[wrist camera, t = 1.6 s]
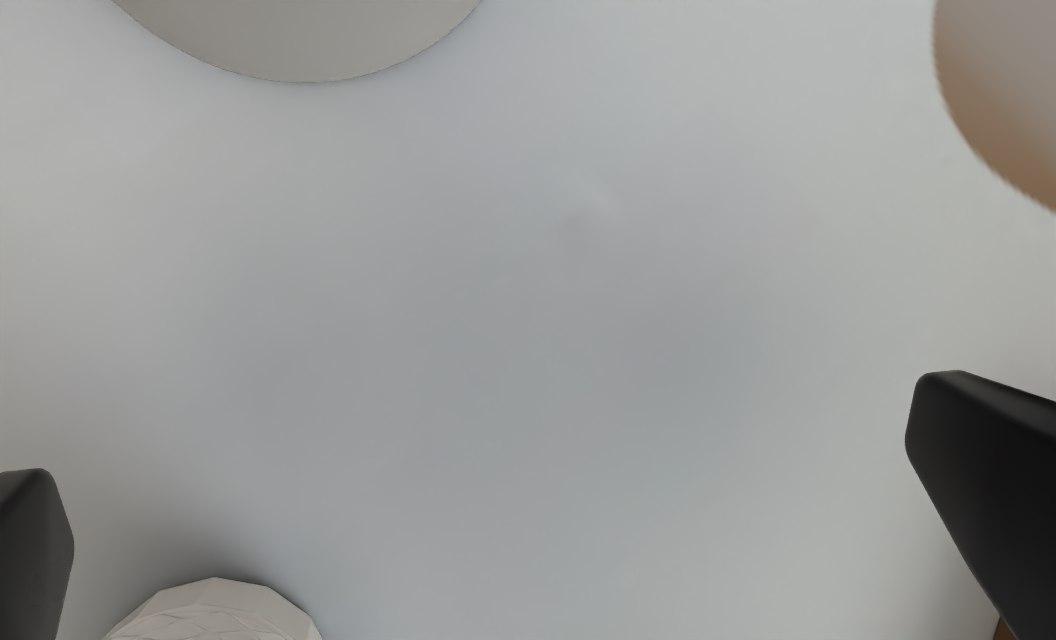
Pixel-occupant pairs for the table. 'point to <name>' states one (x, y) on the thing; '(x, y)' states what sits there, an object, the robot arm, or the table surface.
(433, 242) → the table surface
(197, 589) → the white cup
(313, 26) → the cylinder vase
